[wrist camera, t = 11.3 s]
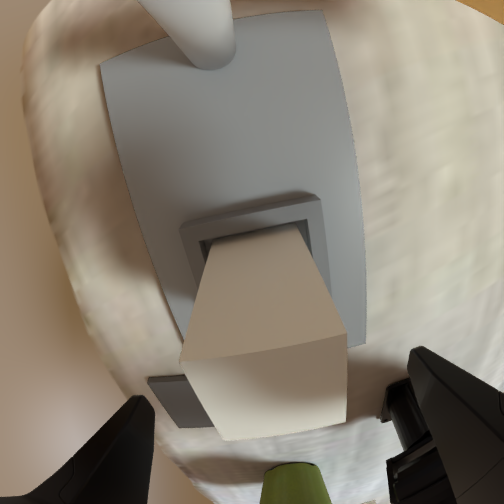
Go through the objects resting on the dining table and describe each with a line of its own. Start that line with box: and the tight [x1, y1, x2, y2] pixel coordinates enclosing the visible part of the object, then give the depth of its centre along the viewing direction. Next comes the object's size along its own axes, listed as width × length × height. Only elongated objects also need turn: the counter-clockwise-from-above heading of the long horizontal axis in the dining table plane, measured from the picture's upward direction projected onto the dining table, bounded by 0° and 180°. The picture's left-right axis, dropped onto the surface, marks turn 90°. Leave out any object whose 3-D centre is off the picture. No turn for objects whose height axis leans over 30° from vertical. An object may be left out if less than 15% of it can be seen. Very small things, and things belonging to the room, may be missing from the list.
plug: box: [179, 223, 347, 441], centre depth 12 cm, size 4×4×9 cm
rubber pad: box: [147, 375, 215, 428], centre depth 22 cm, size 7×7×1 cm
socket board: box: [100, 0, 366, 348], centre depth 11 cm, size 21×12×10 cm, turn 12°
